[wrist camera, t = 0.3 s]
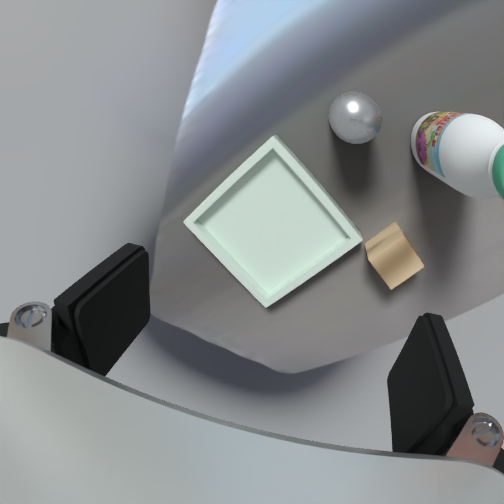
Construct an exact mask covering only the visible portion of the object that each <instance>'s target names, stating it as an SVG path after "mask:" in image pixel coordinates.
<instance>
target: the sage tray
mask: <svg viewBox="0 0 504 504" xmlns="http://www.w3.org/2000/svg"><path fill="white" fill-rule="evenodd" d="M183 223H184V224H185V225H186V226H187V227H188V228H189V229H190V230H191V231H192V232H193V233H194V234H195V235H196V236H197V237H198V239H199V240H200V241H201V242H202V243H203V244H204V245H205V246H206V247H207V248H208V249H209V250H210V251H211V252H212V253H213V254H214V255H215V256H216V257H217V258H218V259H219V261H220V262H221V263H222V264H223V265H224V266H225V267H226V268H227V269H228V270H229V271H230V272H231V273H232V274H233V275H234V276H235V277H236V278H237V279H238V280H239V281H240V282H241V283H242V284H243V285H244V286H245V287H246V288H247V289H248V290H249V291H250V292H251V294H252V295H253V296H254V297H255V298H256V299H257V300H258V301H259V302H260V303H261V304H262V305H263V306H264V307H265V308H267V307H268V306H270V305H271V304H273V303H274V302H276V301H277V300H279V299H280V298H282V297H283V296H285V295H286V294H287V293H289V292H290V291H292V290H293V289H295V288H296V287H298V286H299V285H301V284H302V283H304V282H305V281H306V280H308V279H309V278H311V277H312V276H314V275H315V274H316V273H318V272H319V271H321V270H322V269H324V268H325V267H326V266H328V265H329V264H331V263H332V262H334V261H335V260H336V259H338V258H339V257H341V256H342V255H343V254H345V253H346V252H347V251H349V250H350V249H352V248H353V247H354V246H356V245H357V244H358V243H360V242H361V241H363V239H362V235H361V232H360V231H359V230H358V229H357V227H356V226H355V225H354V223H353V222H352V221H351V220H350V219H349V217H348V216H347V215H346V214H345V212H344V211H343V210H342V209H341V207H340V206H339V205H338V204H337V203H336V201H335V200H334V199H333V198H332V197H331V195H330V194H329V193H328V192H327V191H326V189H325V188H324V187H323V186H322V185H321V184H320V182H319V181H318V180H317V179H316V178H315V177H314V176H313V174H312V173H311V172H310V171H309V170H308V169H307V168H306V166H305V165H304V164H303V163H302V162H301V161H300V160H299V159H298V157H297V156H296V155H295V154H294V153H293V152H292V151H291V150H290V149H289V147H288V146H287V145H286V144H285V143H284V142H283V141H282V140H281V139H280V138H279V137H278V136H277V135H274V136H272V137H271V138H270V139H269V140H268V141H267V142H266V143H265V144H264V145H262V146H261V147H260V148H259V149H258V150H257V151H256V152H255V153H254V154H253V155H252V156H250V157H249V158H248V159H247V160H246V161H245V162H244V163H243V164H242V165H241V166H240V167H239V168H238V169H237V170H235V171H234V172H233V173H232V174H231V175H230V176H229V177H228V178H227V179H226V180H225V181H224V182H223V183H222V184H221V185H220V186H219V187H218V188H217V189H216V190H215V191H214V192H213V193H212V194H211V195H209V196H208V197H207V198H206V199H205V200H204V201H203V202H202V203H201V204H200V205H199V206H198V207H197V208H196V209H195V210H194V211H193V212H192V213H191V214H190V215H189V216H188V217H187V218H186V219H185V220H184V221H183Z"/></svg>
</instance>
